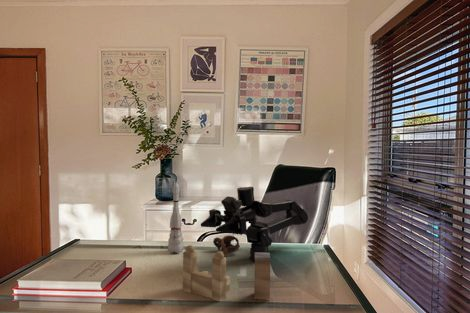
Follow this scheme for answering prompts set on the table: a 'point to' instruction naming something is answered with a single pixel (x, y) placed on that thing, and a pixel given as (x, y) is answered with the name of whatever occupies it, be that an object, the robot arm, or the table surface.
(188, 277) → the wooden block tower
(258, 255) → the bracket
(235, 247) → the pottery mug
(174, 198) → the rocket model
